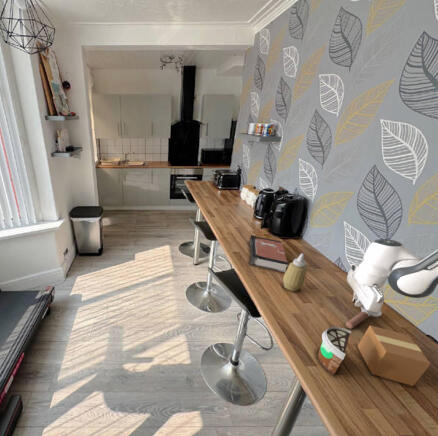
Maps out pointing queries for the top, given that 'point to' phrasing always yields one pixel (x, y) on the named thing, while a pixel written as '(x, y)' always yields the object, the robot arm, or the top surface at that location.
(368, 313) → the pizza cutter
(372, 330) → the carton
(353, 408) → the top surface
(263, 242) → the book
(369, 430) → the top surface
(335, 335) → the food container
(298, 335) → the top surface
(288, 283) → the squeeze bottle
